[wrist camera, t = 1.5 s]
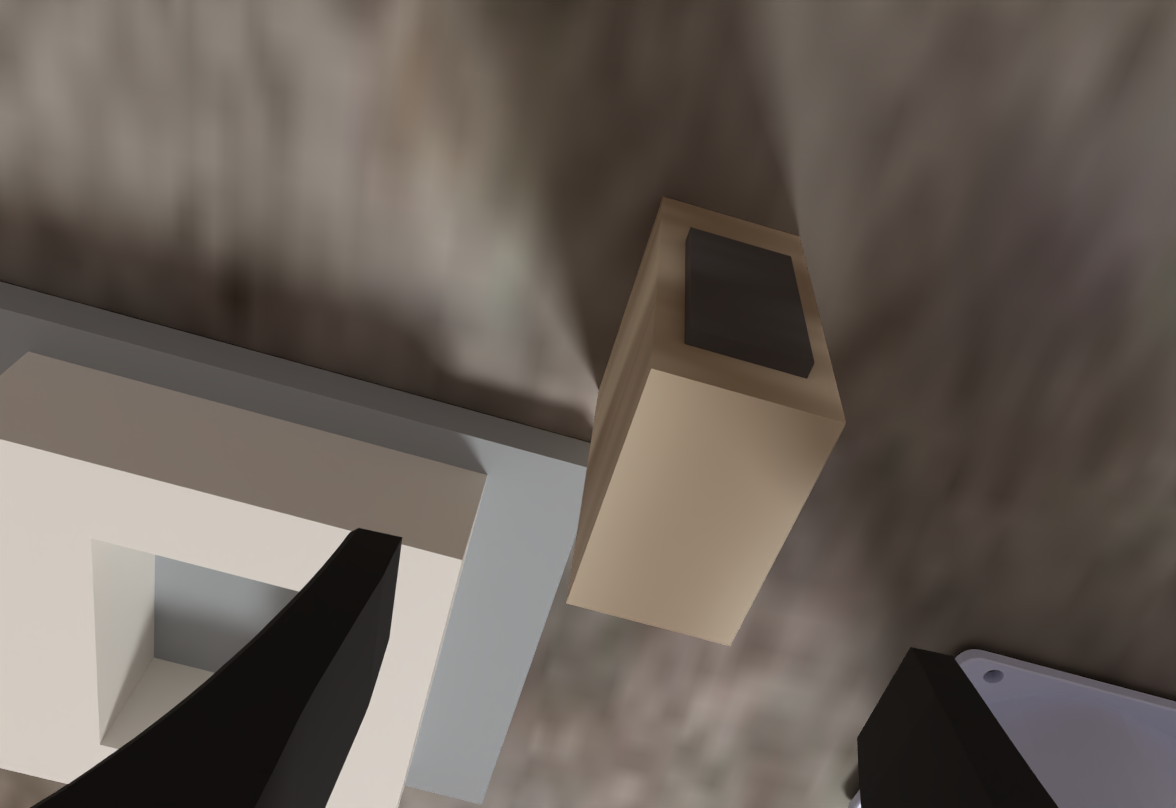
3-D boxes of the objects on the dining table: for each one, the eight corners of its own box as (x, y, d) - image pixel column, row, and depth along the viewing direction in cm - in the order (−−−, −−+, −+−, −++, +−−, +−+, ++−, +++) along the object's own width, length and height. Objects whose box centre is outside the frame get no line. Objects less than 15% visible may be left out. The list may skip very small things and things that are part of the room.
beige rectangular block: (804, 223, 19) (854, 406, 14) (719, 423, 22) (729, 646, 17) (667, 182, 19) (657, 350, 13) (598, 390, 22) (566, 603, 16)
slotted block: (601, 446, 23) (587, 556, 20) (487, 777, 31) (462, 897, 27) (-58, 265, 22) (-192, 350, 19) (-6, 656, 29) (-94, 765, 26)
